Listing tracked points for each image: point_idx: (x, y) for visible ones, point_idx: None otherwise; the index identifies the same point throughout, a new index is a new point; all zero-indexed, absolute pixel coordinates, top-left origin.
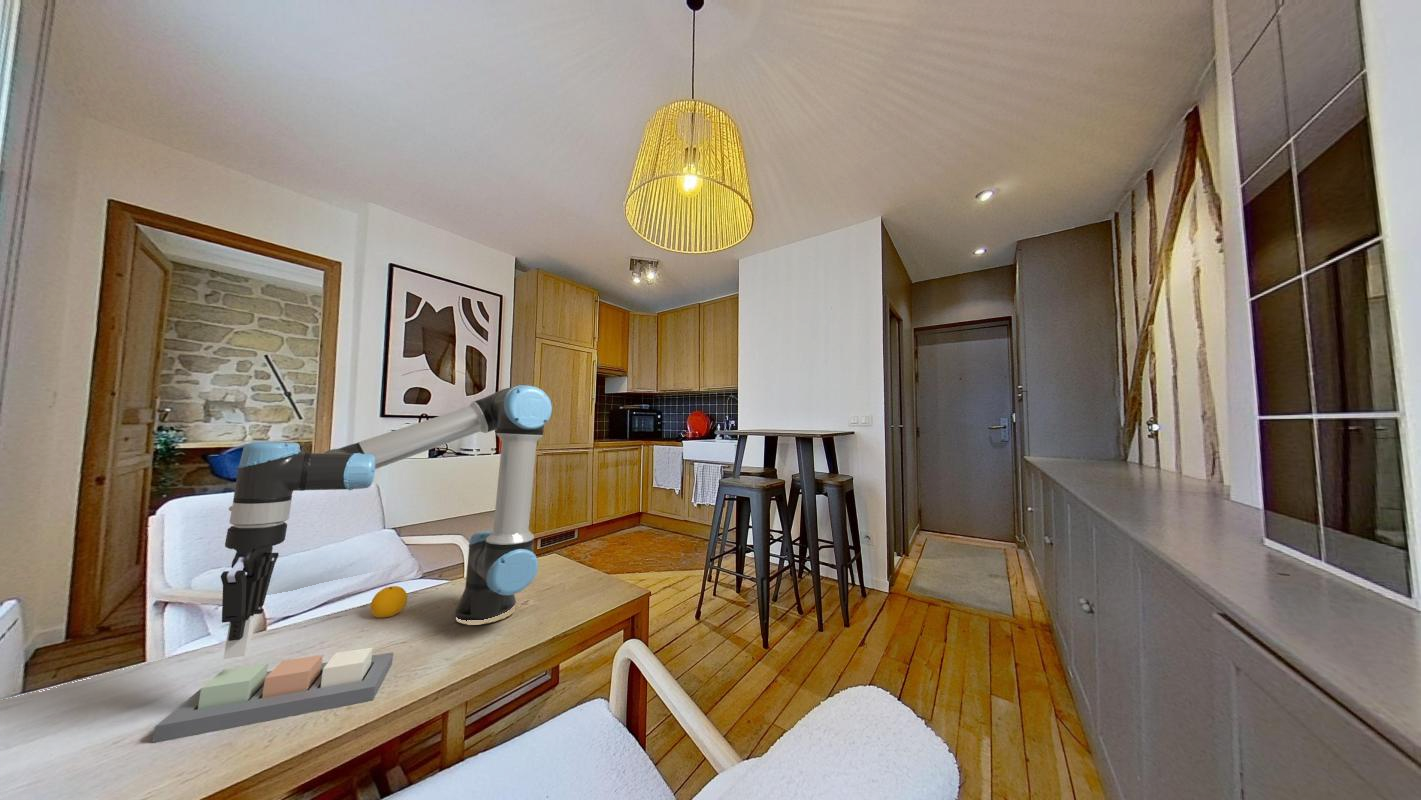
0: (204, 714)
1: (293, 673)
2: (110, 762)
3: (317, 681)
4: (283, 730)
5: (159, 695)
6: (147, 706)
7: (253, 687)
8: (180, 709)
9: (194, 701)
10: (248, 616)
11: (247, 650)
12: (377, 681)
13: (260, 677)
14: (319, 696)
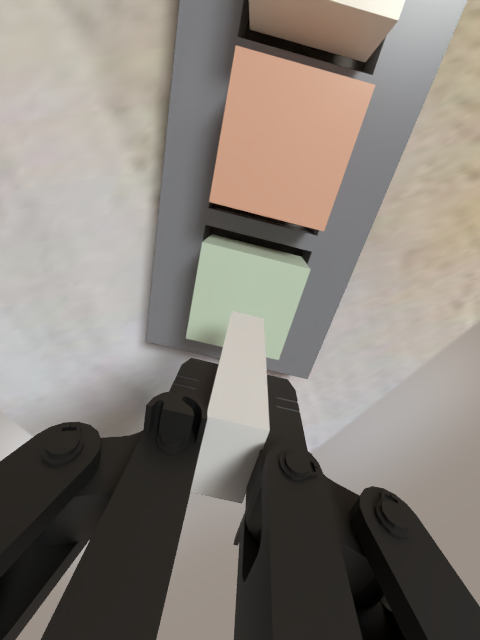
0: (318, 320)
1: (354, 144)
2: (325, 391)
3: None
4: (450, 154)
5: (120, 389)
6: (156, 393)
7: (277, 253)
8: None
9: None
10: (305, 468)
11: (246, 319)
12: None
13: (244, 247)
14: (444, 53)
